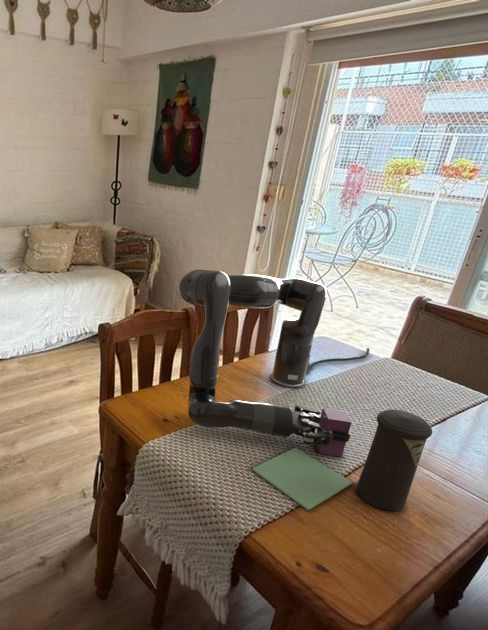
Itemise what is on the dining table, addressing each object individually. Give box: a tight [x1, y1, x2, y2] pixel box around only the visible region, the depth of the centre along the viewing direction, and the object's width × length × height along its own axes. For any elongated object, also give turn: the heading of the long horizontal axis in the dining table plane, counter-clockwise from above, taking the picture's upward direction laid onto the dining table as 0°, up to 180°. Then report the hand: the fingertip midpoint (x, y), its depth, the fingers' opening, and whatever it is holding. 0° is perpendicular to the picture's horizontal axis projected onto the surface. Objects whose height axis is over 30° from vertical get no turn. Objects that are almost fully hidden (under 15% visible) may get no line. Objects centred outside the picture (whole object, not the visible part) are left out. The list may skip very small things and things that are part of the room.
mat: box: [251, 447, 353, 511], centre depth 99 cm, size 16×14×1 cm
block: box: [315, 407, 353, 458], centre depth 107 cm, size 5×5×10 cm
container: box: [356, 409, 433, 512], centre depth 90 cm, size 9×9×20 cm
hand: (345, 430), depth 106 cm, fingers closed on block, 5 cm apart
